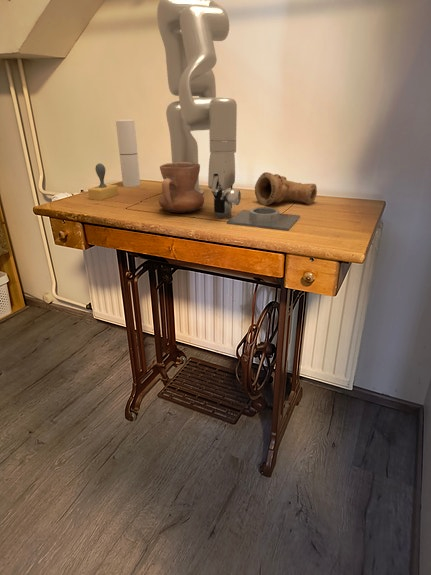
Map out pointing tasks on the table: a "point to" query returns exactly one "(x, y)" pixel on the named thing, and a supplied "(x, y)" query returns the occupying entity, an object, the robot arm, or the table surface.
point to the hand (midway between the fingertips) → (223, 209)
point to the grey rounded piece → (229, 201)
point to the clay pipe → (282, 190)
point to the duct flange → (264, 218)
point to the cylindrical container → (128, 152)
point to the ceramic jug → (180, 187)
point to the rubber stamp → (102, 186)
